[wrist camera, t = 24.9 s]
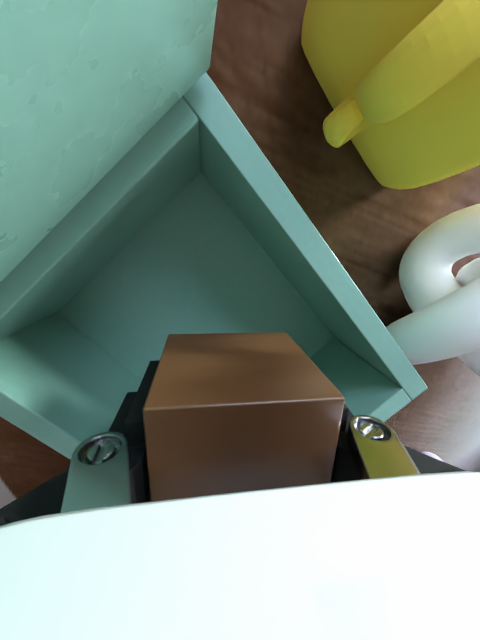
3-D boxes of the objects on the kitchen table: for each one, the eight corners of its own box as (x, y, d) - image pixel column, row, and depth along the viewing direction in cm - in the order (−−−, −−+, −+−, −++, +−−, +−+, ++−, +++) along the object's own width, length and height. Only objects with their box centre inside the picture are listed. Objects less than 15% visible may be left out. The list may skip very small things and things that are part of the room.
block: (173, 434, 12) (155, 560, 7) (168, 333, 11) (141, 409, 6) (278, 427, 13) (322, 537, 8) (286, 331, 11) (346, 397, 7)
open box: (344, 332, 20) (428, 388, 13) (212, 443, 22) (218, 552, 14) (201, 149, 15) (201, 64, 8) (41, 307, 17) (-90, 363, 9)
